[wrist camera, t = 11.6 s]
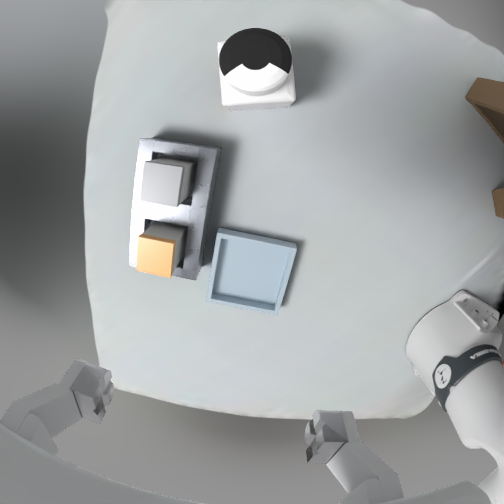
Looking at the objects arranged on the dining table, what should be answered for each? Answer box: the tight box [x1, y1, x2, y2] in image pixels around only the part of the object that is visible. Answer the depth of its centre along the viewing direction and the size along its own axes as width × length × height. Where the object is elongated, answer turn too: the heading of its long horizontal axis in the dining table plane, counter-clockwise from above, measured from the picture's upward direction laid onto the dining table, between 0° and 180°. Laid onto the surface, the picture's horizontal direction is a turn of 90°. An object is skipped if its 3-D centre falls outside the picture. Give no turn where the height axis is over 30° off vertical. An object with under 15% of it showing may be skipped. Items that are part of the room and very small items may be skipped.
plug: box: [136, 221, 188, 278], centre depth 34 cm, size 4×4×7 cm
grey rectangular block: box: [140, 156, 197, 208], centre depth 31 cm, size 4×4×7 cm
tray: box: [206, 228, 297, 315], centre depth 39 cm, size 10×10×2 cm
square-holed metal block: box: [129, 138, 222, 280], centre depth 35 cm, size 16×9×4 cm, turn 168°
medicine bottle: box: [217, 28, 296, 111], centre depth 25 cm, size 7×7×12 cm
